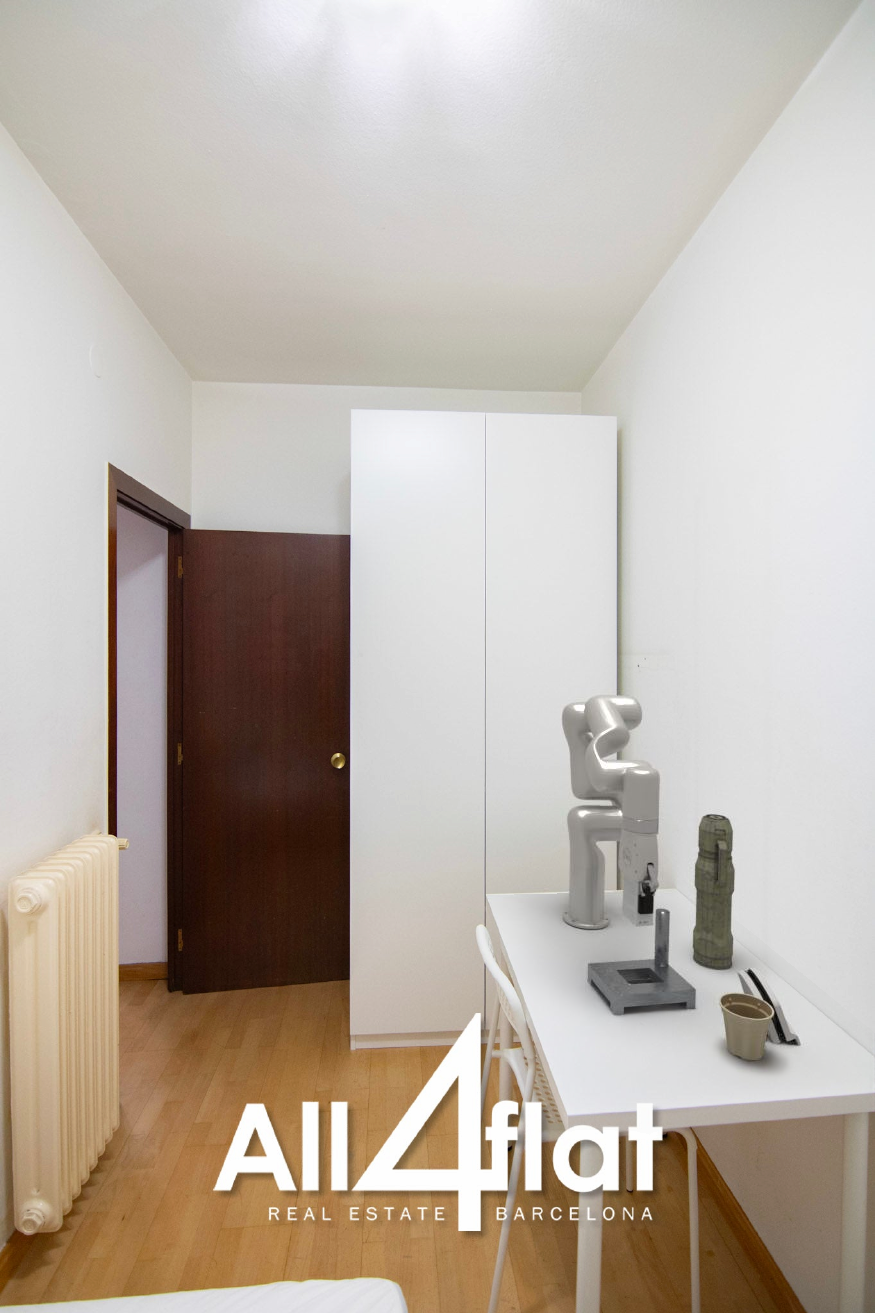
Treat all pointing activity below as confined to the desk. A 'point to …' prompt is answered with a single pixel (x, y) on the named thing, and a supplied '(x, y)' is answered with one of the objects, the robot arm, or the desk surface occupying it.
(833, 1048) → the desk surface
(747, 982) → the white curved piece
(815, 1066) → the desk surface
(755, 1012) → the flower pot
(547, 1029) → the desk surface
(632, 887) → the skincare box
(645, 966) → the gray square stand
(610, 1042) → the desk surface
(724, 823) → the thermos
